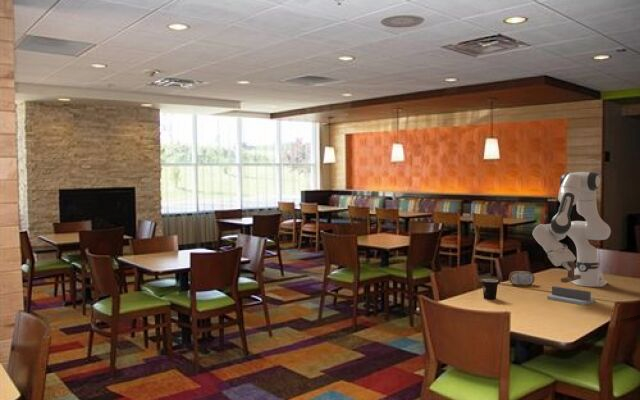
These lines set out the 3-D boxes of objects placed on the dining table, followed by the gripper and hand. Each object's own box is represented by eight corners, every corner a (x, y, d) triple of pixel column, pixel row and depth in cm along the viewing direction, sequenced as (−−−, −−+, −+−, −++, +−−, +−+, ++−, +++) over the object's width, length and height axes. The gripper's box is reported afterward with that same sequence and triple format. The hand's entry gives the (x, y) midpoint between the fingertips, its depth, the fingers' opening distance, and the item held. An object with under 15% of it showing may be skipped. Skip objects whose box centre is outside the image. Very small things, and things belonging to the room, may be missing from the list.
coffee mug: (499, 300, 288) (499, 282, 287) (482, 299, 290) (482, 281, 289) (496, 295, 299) (496, 278, 299) (480, 295, 301) (480, 277, 300)
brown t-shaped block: (576, 277, 294) (576, 259, 294) (580, 278, 292) (581, 260, 292) (560, 282, 283) (561, 263, 282) (565, 282, 281) (565, 264, 280)
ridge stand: (558, 295, 300) (558, 284, 299) (595, 301, 284) (595, 290, 284) (547, 298, 291) (547, 287, 291) (584, 305, 276) (584, 294, 276)
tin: (533, 284, 329) (533, 271, 328) (535, 285, 326) (535, 272, 325) (508, 284, 330) (508, 270, 330) (509, 285, 327) (509, 271, 327)
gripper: (549, 247, 285) (567, 268, 278) (567, 244, 298) (584, 264, 291) (541, 255, 289) (559, 275, 282) (559, 251, 302) (576, 271, 295)
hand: (572, 269), depth 287 cm, fingers closed on brown t-shaped block, 2 cm apart
